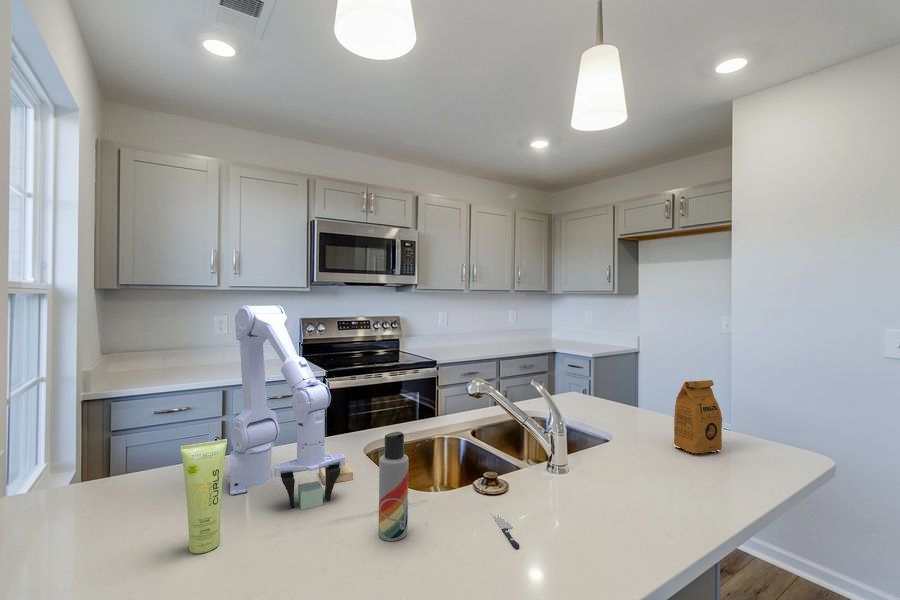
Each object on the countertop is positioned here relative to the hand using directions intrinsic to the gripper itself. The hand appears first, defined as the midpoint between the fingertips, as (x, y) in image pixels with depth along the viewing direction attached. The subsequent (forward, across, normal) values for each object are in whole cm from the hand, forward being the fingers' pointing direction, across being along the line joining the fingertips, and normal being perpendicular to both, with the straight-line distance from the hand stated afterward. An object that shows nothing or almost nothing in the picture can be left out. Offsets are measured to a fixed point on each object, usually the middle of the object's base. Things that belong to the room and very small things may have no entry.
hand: (310, 502), depth 94 cm
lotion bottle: (+2, +13, -17) cm, 21 cm away
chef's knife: (+2, +35, -23) cm, 42 cm away
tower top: (0, +8, +11) cm, 14 cm away
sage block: (+2, 0, 0) cm, 2 cm away
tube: (+2, -20, -6) cm, 21 cm away
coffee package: (+2, +114, -14) cm, 115 cm away
